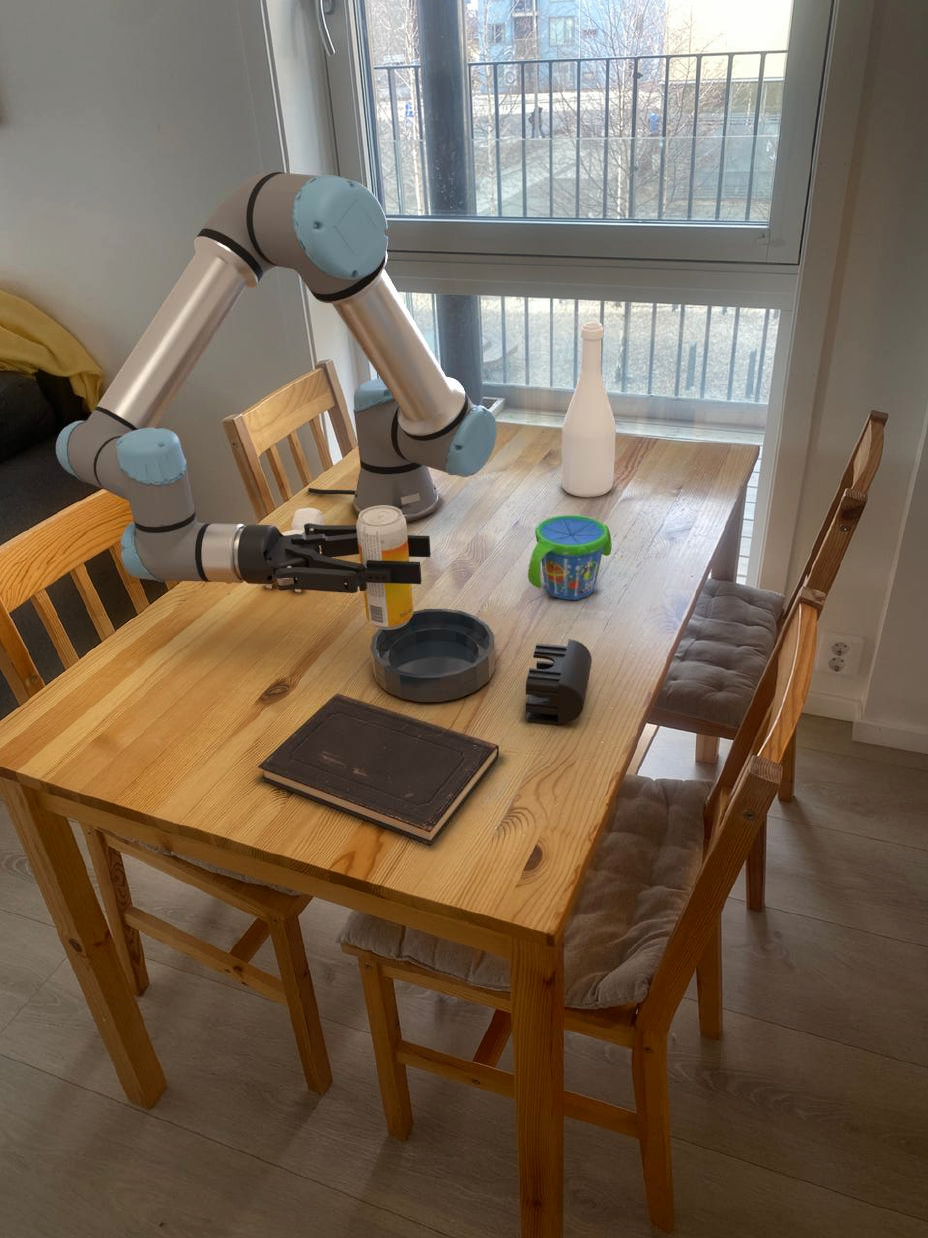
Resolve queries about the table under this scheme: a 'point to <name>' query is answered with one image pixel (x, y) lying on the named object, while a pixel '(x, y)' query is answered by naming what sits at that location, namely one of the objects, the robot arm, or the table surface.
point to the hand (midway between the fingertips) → (424, 559)
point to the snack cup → (569, 555)
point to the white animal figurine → (300, 520)
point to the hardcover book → (381, 766)
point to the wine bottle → (589, 426)
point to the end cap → (558, 683)
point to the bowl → (434, 656)
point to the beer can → (385, 542)
